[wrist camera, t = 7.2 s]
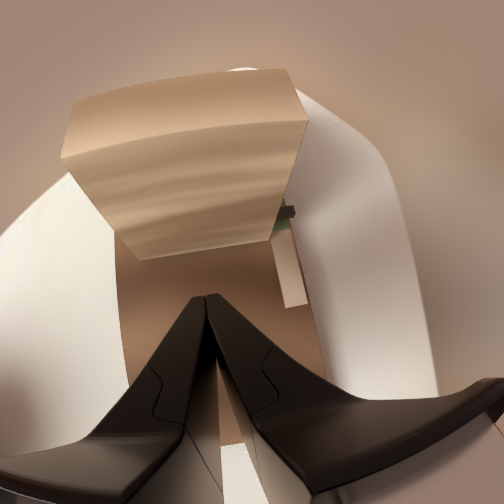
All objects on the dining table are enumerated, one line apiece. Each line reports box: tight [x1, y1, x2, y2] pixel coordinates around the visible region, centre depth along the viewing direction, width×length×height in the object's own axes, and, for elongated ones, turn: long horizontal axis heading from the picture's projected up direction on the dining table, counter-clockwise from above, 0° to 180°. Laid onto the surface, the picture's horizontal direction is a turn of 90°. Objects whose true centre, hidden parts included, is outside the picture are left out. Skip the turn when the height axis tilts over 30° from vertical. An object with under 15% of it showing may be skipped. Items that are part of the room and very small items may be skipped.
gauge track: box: [114, 198, 327, 446], centre depth 13 cm, size 16×10×7 cm, turn 11°
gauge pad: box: [60, 69, 309, 261], centre depth 12 cm, size 2×9×9 cm, turn 101°
